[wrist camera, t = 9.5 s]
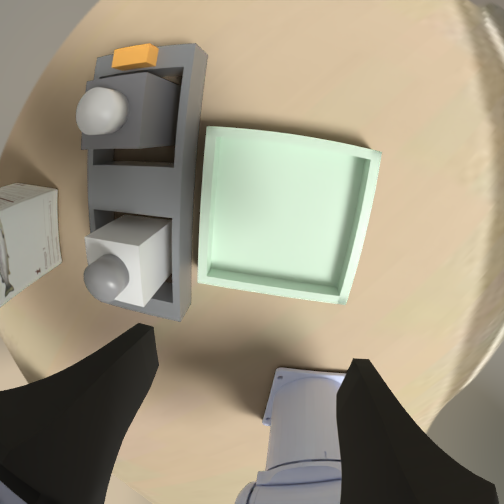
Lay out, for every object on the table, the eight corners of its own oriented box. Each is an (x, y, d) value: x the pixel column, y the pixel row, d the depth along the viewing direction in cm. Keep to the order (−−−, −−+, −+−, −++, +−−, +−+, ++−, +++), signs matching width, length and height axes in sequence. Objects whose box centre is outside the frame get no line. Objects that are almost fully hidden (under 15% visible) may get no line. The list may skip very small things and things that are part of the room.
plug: (176, 145, 17) (123, 150, 11) (125, 144, 17) (63, 152, 11) (182, 87, 15) (131, 66, 9) (130, 90, 16) (69, 78, 10)
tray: (342, 292, 19) (345, 304, 18) (204, 271, 20) (197, 282, 18) (373, 150, 15) (381, 152, 14) (214, 127, 16) (206, 126, 15)
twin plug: (172, 271, 20) (132, 321, 14) (127, 262, 21) (80, 305, 15) (172, 220, 19) (125, 257, 13) (124, 214, 19) (69, 245, 13)
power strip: (191, 303, 21) (174, 332, 18) (115, 286, 22) (92, 309, 18) (207, 54, 14) (188, 36, 11) (117, 63, 15) (86, 54, 11)
